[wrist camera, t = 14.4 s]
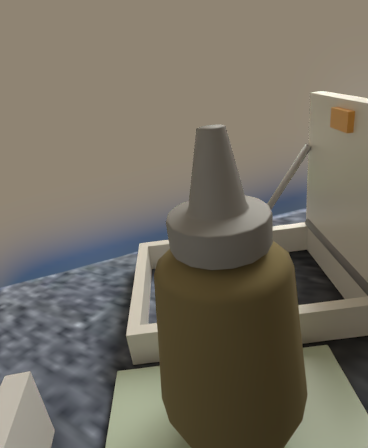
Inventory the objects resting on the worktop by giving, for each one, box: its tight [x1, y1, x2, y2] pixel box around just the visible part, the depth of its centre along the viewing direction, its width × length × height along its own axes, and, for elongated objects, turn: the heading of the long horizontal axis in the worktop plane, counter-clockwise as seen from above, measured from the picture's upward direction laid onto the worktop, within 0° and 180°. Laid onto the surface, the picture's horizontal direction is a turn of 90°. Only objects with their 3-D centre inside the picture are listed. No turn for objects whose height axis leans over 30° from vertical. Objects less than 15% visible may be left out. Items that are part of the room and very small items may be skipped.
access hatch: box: [126, 91, 368, 365], centre depth 31 cm, size 20×15×17 cm
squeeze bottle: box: [154, 125, 308, 448], centre depth 18 cm, size 8×8×18 cm
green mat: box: [105, 345, 368, 448], centre depth 21 cm, size 16×11×1 cm
